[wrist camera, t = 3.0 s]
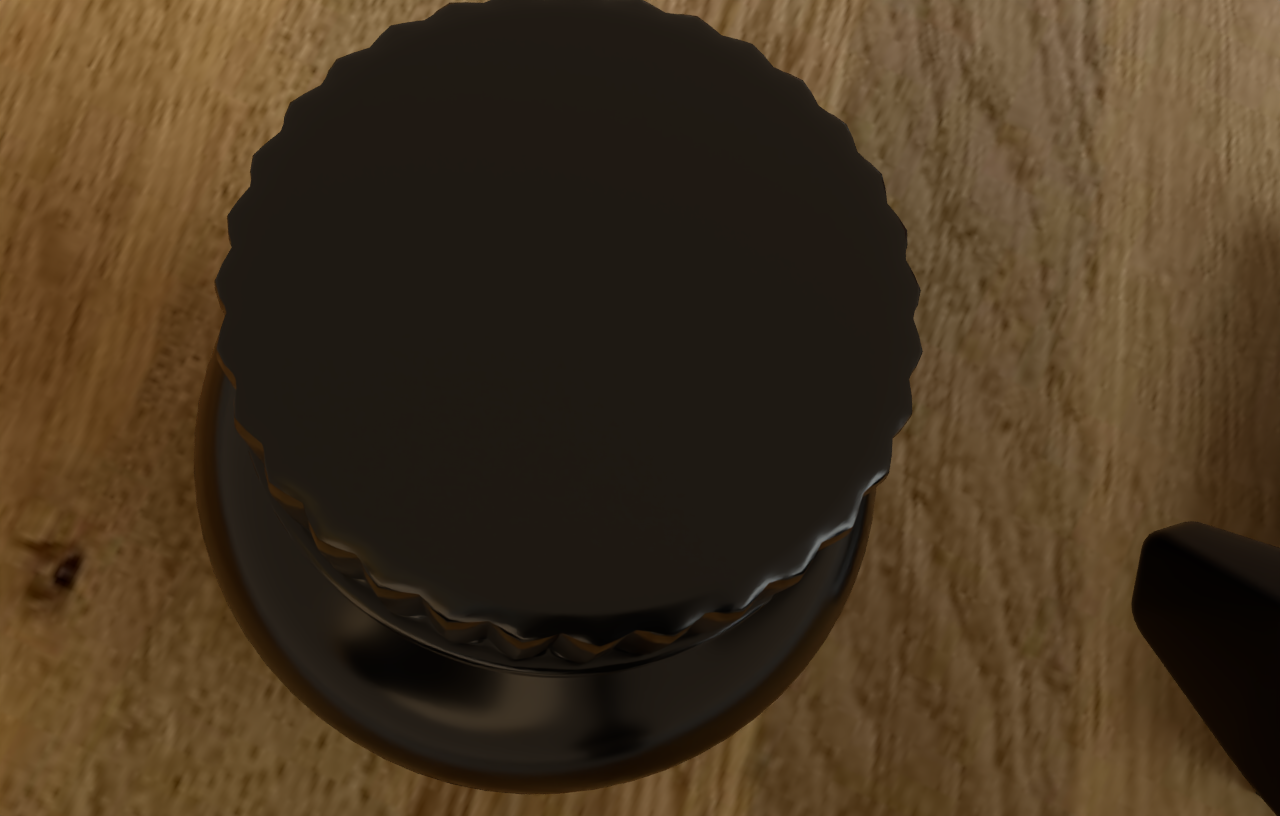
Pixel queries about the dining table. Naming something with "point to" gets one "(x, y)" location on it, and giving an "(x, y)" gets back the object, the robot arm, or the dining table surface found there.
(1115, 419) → the dining table surface
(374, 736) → the supplement bottle
